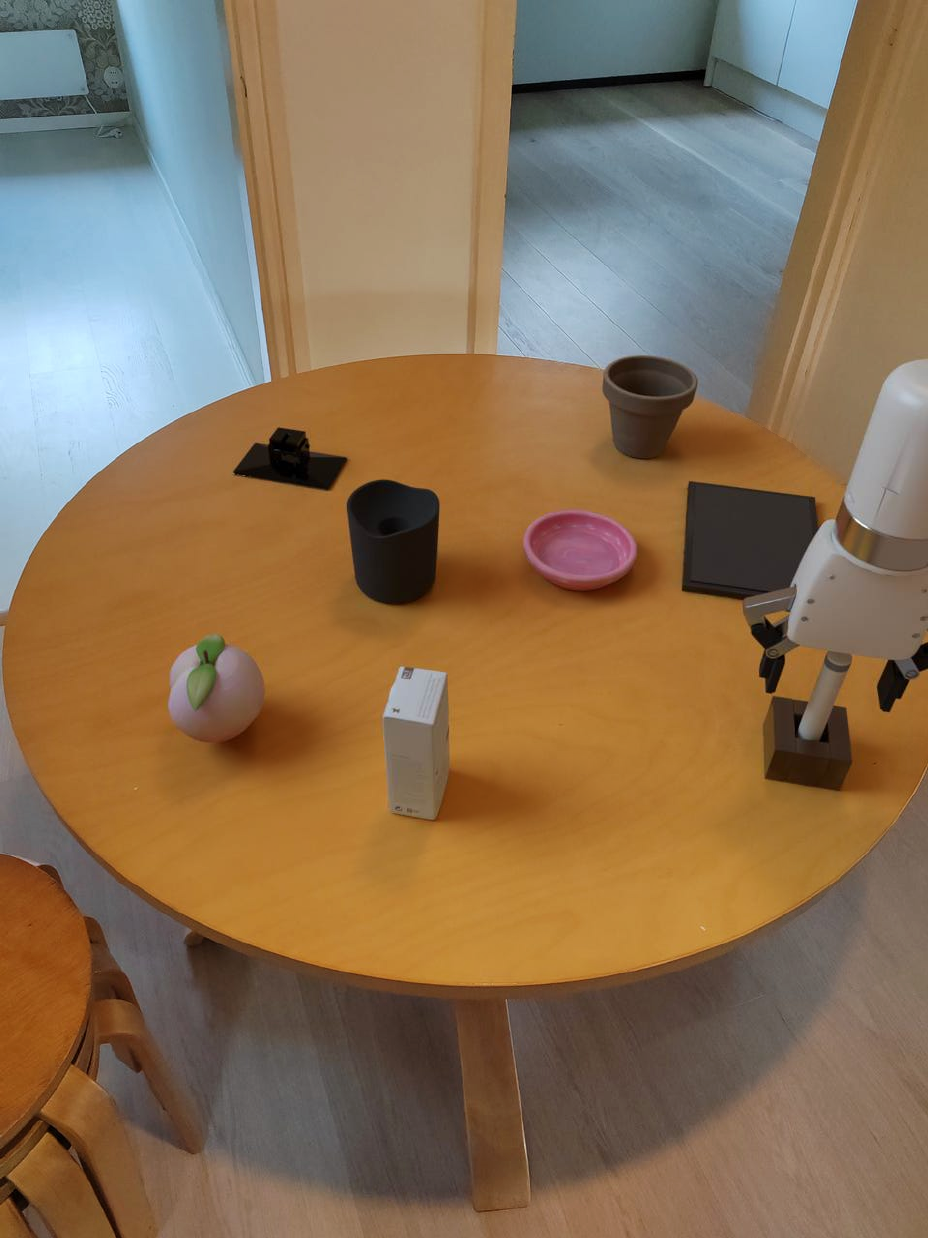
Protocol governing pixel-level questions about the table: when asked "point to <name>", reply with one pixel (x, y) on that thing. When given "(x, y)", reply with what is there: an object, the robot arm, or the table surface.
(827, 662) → the stylus
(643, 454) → the flower pot
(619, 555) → the saucer
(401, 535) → the pen holder
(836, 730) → the pen stand
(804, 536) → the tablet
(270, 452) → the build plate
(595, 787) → the table surface
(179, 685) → the decorative fruit
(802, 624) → the robot arm
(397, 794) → the cosmetic box
